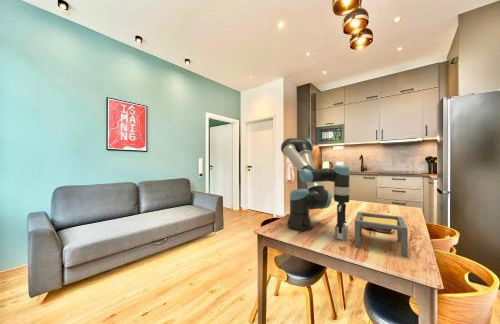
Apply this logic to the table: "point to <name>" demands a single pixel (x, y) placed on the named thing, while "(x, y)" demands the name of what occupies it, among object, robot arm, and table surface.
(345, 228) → the grey cube
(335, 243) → the table surface
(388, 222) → the hatch
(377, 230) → the rock
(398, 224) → the frame
